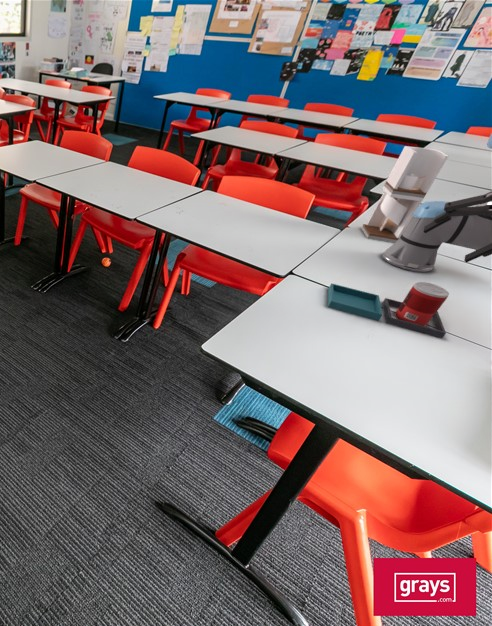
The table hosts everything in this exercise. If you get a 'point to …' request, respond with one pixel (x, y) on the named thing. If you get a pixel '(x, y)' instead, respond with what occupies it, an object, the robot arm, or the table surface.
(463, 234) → the robot arm
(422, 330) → the tray
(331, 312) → the table surface
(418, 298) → the canned food
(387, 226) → the white tiered tower
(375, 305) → the tray
